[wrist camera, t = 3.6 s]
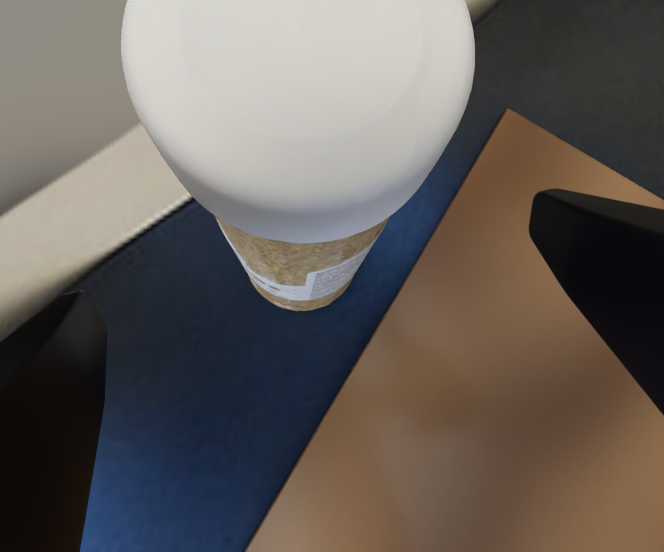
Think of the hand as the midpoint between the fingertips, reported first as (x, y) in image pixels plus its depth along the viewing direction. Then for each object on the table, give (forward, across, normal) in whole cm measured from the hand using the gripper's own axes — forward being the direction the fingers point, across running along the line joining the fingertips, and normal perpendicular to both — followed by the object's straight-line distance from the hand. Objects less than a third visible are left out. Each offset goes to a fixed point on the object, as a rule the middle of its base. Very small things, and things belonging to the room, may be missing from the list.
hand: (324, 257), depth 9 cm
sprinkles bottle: (+8, 0, +5) cm, 10 cm away
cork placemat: (+2, -8, +12) cm, 14 cm away
